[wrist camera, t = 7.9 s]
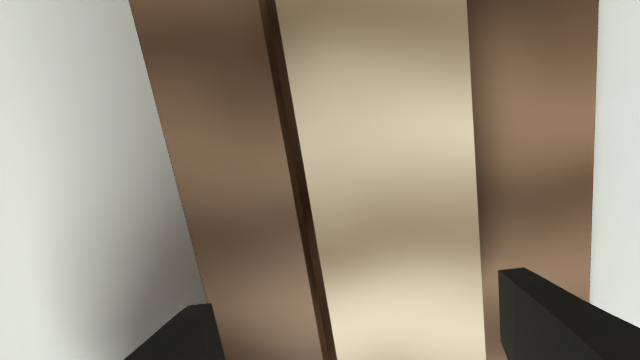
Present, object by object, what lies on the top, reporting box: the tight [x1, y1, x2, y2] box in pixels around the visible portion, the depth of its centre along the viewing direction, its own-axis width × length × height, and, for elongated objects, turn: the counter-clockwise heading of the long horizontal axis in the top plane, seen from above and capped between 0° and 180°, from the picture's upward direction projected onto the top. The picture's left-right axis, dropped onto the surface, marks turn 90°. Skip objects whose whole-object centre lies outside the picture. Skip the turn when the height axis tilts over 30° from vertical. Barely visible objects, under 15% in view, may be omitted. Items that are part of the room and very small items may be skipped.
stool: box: [275, 0, 486, 360], centre depth 17 cm, size 14×5×6 cm, turn 9°
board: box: [129, 0, 599, 360], centre depth 20 cm, size 22×16×3 cm
